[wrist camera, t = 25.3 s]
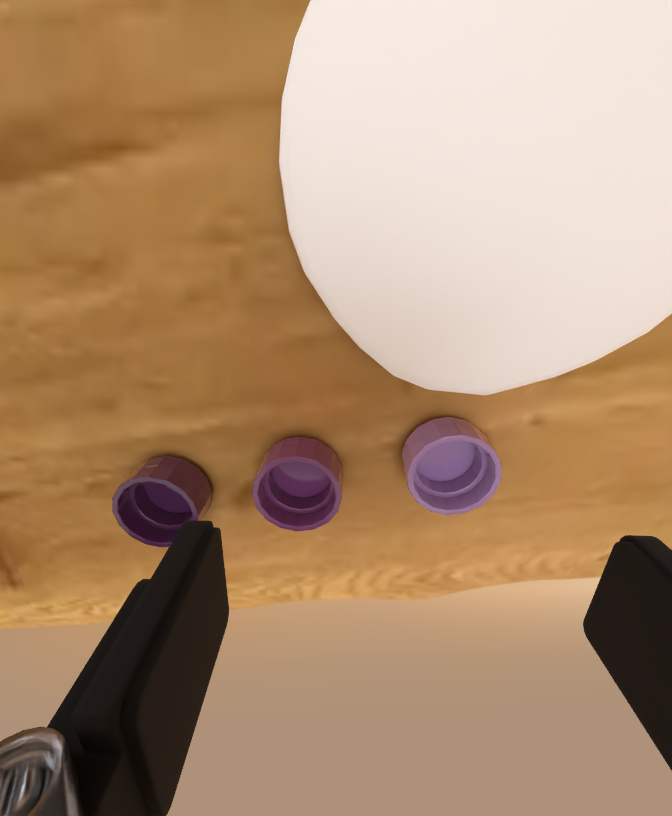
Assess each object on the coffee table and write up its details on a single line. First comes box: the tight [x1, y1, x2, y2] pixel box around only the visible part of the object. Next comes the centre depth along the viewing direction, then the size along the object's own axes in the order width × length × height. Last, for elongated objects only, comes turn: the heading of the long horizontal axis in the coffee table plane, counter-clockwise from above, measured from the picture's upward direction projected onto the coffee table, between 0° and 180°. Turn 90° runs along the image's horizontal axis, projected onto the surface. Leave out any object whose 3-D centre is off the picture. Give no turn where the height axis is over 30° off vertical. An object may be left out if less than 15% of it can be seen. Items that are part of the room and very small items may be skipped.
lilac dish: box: [402, 417, 501, 515], centre depth 30 cm, size 7×7×4 cm
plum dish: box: [252, 437, 343, 531], centre depth 31 cm, size 7×7×4 cm
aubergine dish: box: [113, 456, 212, 547], centre depth 32 cm, size 7×7×4 cm
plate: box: [279, 0, 672, 395], centre depth 21 cm, size 28×6×27 cm
